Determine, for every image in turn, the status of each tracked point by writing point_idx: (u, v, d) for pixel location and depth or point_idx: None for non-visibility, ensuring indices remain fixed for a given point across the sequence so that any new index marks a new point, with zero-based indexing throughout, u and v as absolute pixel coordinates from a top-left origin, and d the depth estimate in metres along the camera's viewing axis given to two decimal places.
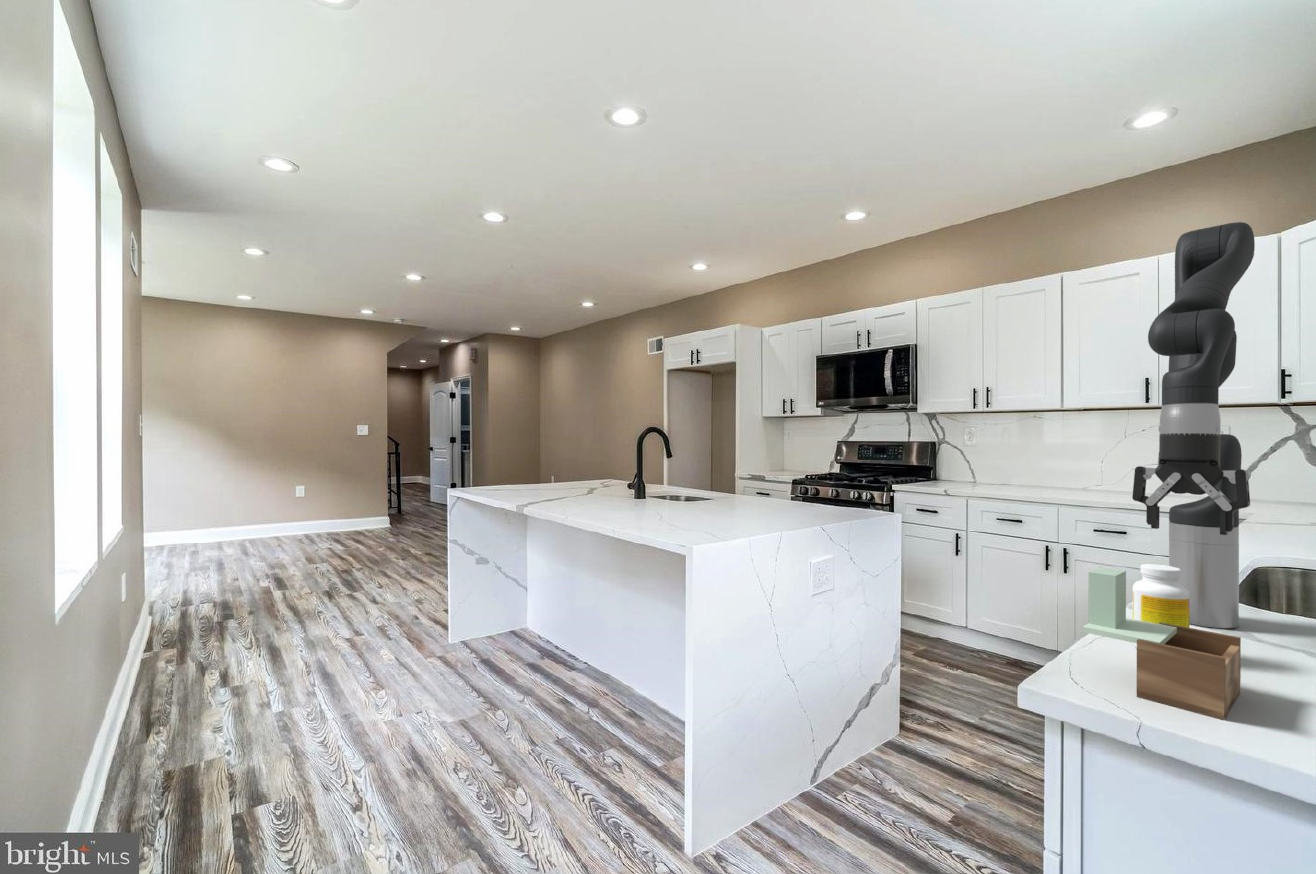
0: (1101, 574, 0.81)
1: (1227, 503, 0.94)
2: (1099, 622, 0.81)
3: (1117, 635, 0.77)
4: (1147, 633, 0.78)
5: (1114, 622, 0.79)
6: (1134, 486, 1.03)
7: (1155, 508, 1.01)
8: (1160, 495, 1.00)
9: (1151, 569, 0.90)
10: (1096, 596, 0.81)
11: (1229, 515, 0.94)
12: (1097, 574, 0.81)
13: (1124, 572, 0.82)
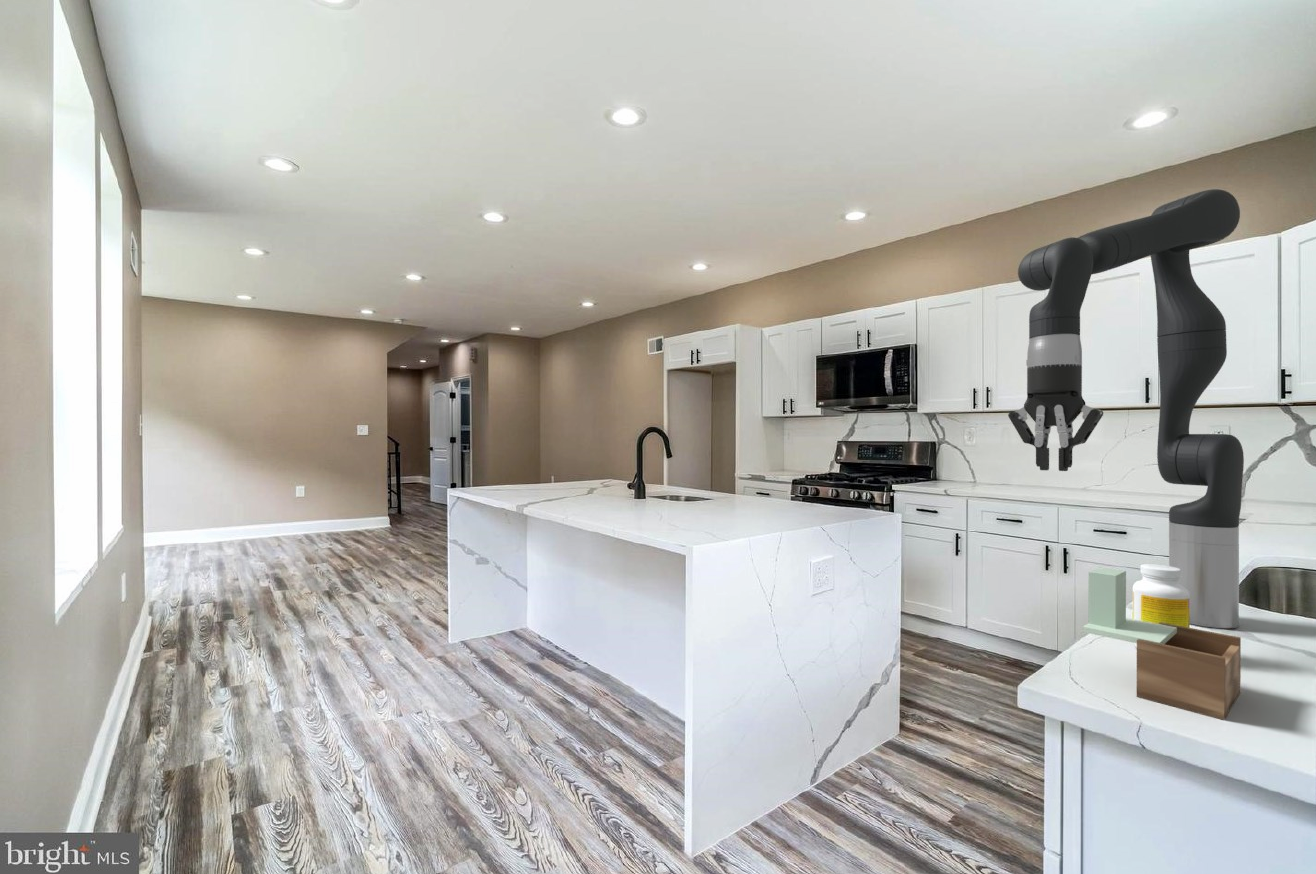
0: (1101, 574, 0.81)
1: (1066, 441, 0.96)
2: (1099, 622, 0.81)
3: (1117, 635, 0.77)
4: (1147, 633, 0.78)
5: (1114, 622, 0.79)
6: (1018, 431, 1.02)
7: (1043, 449, 0.99)
8: (1041, 432, 0.99)
9: (1151, 569, 0.90)
10: (1096, 596, 0.81)
11: (1067, 451, 0.96)
12: (1097, 574, 0.81)
13: (1124, 572, 0.82)
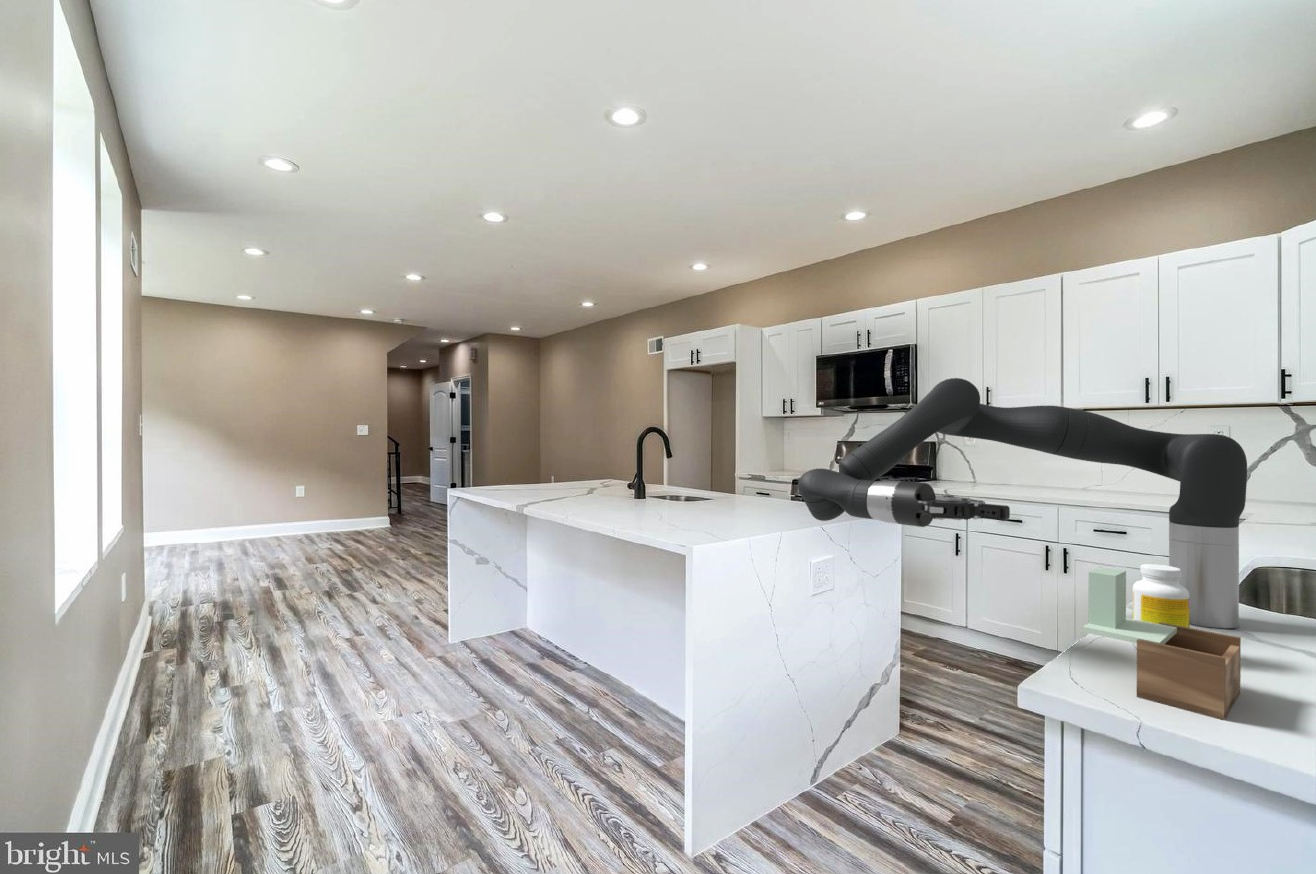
0: (1101, 574, 0.81)
1: (971, 517, 0.95)
2: (1099, 622, 0.81)
3: (1117, 635, 0.77)
4: (1147, 633, 0.78)
5: (1114, 622, 0.79)
6: None
7: None
8: None
9: (1151, 569, 0.90)
10: (1096, 596, 0.81)
11: None
12: (1097, 574, 0.81)
13: (1124, 572, 0.82)
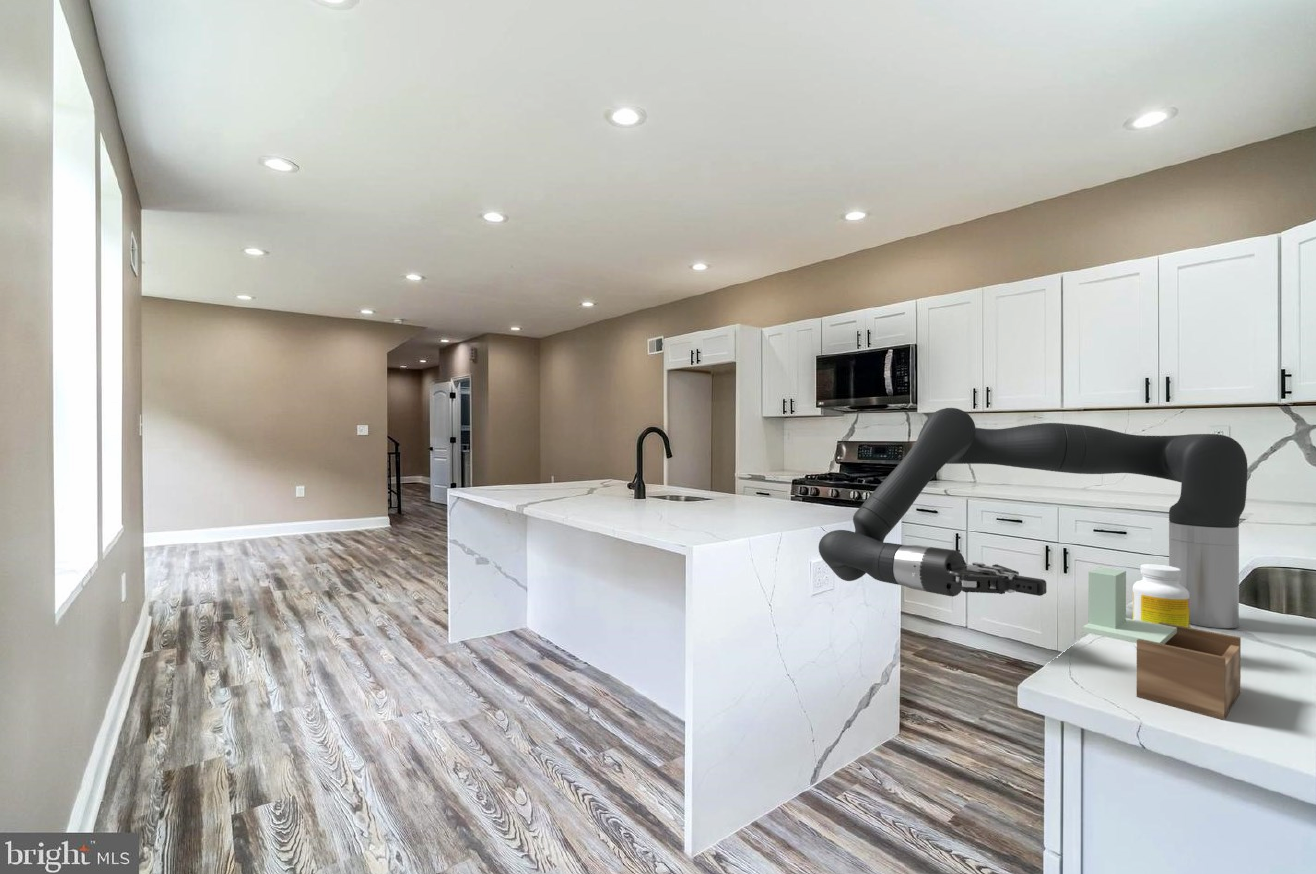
0: (1101, 574, 0.81)
1: (1005, 591, 0.91)
2: (1099, 622, 0.81)
3: (1117, 635, 0.77)
4: (1147, 633, 0.78)
5: (1114, 622, 0.79)
6: None
7: None
8: None
9: (1151, 569, 0.90)
10: (1096, 596, 0.81)
11: None
12: (1097, 574, 0.81)
13: (1124, 572, 0.82)
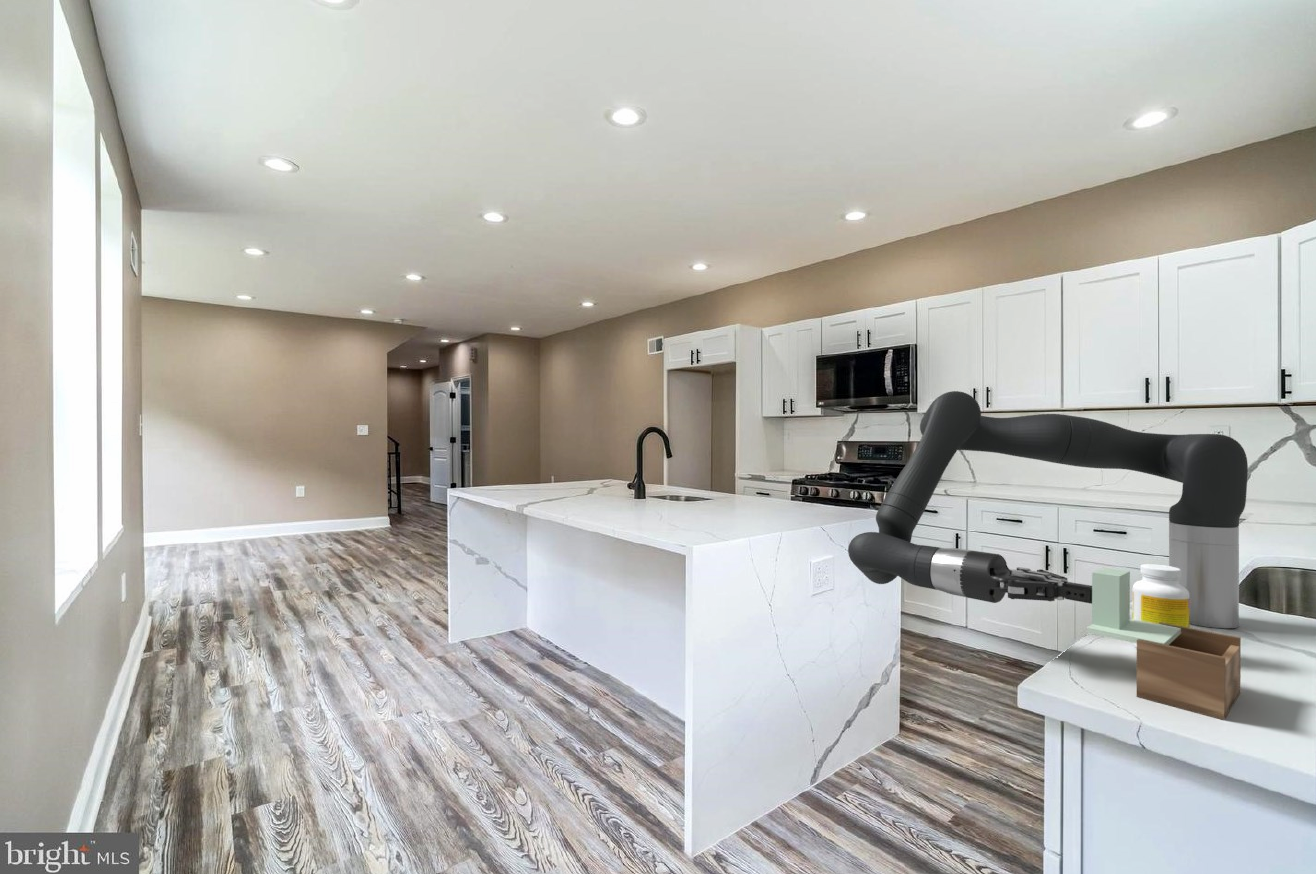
0: (1105, 575, 0.80)
1: (1055, 598, 0.86)
2: (1103, 623, 0.80)
3: (1121, 636, 0.77)
4: (1151, 634, 0.77)
5: (1118, 623, 0.79)
6: None
7: None
8: None
9: (1151, 569, 0.90)
10: (1100, 597, 0.81)
11: None
12: (1101, 575, 0.81)
13: (1128, 573, 0.82)
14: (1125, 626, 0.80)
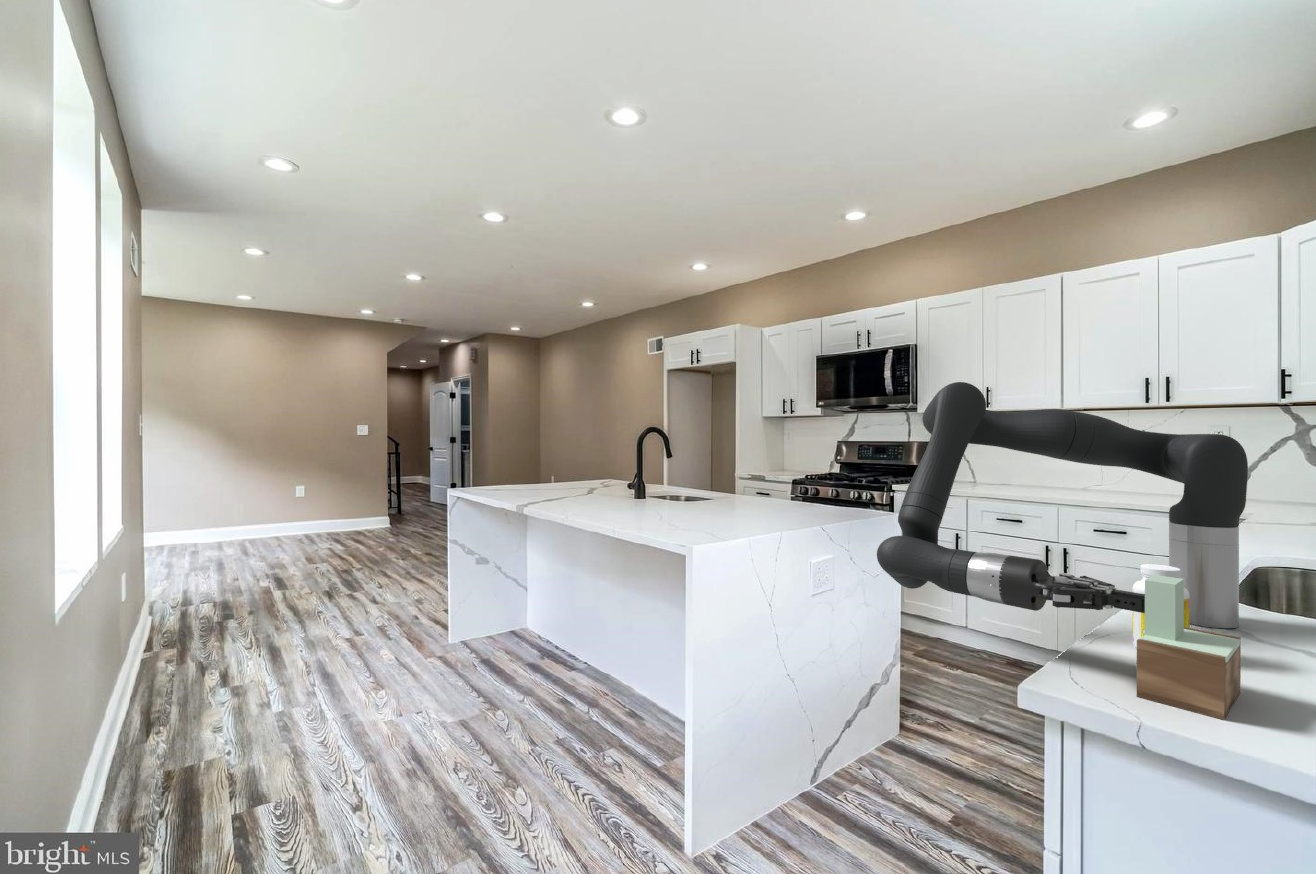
0: (1159, 583, 0.76)
1: (1102, 606, 0.81)
2: (1157, 633, 0.76)
3: None
4: (1210, 646, 0.73)
5: (1174, 634, 0.75)
6: None
7: None
8: None
9: (1151, 569, 0.90)
10: (1153, 606, 0.76)
11: None
12: (1154, 583, 0.76)
13: (1182, 580, 0.77)
14: (1180, 637, 0.76)
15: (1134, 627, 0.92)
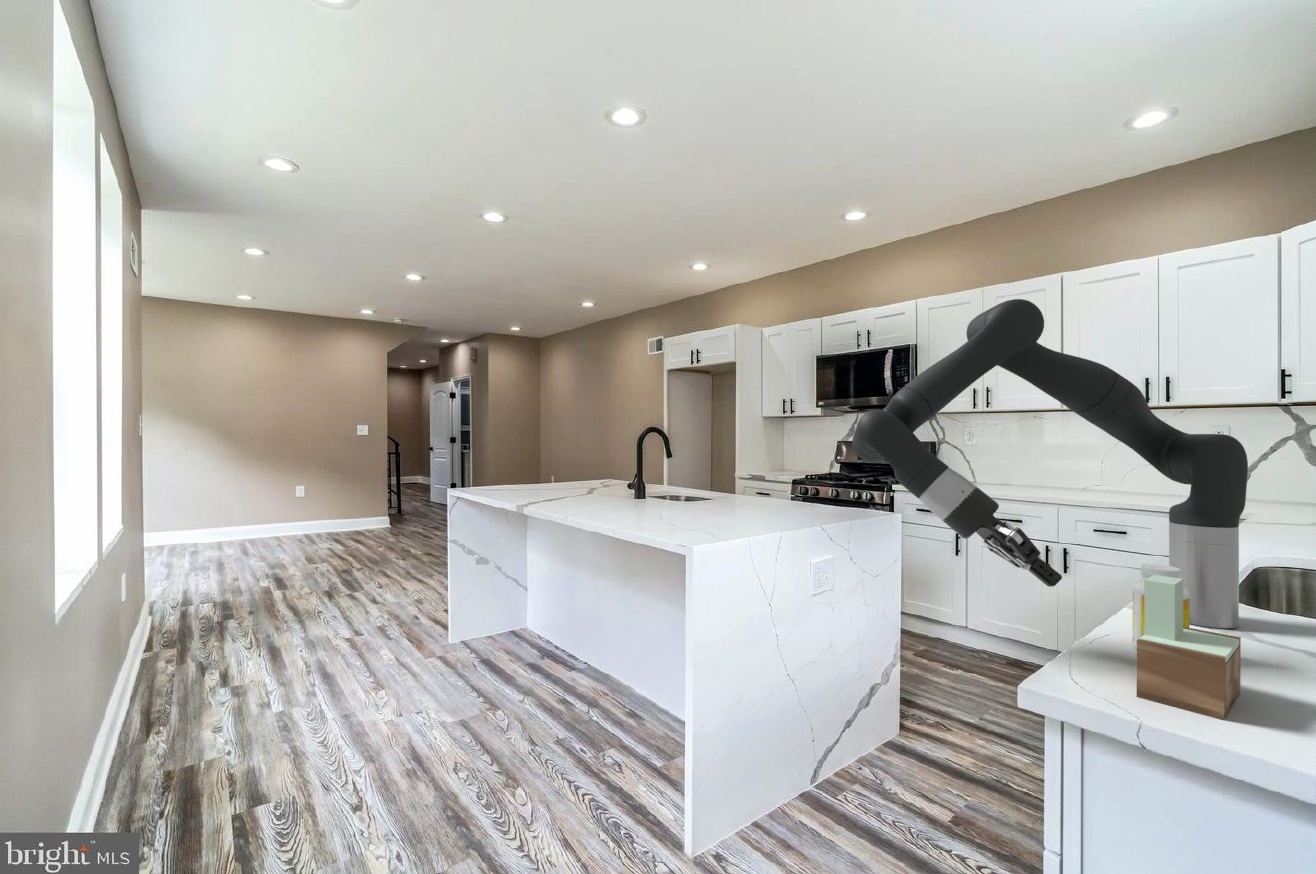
0: (1158, 582, 0.76)
1: (1024, 563, 0.90)
2: (1156, 633, 0.76)
3: None
4: (1210, 646, 0.73)
5: (1173, 634, 0.75)
6: None
7: (1030, 571, 0.91)
8: (1011, 559, 0.92)
9: (1151, 569, 0.90)
10: (1153, 606, 0.76)
11: (1036, 570, 0.90)
12: (1154, 582, 0.76)
13: (1182, 580, 0.77)
14: (1180, 637, 0.76)
15: (1134, 627, 0.92)
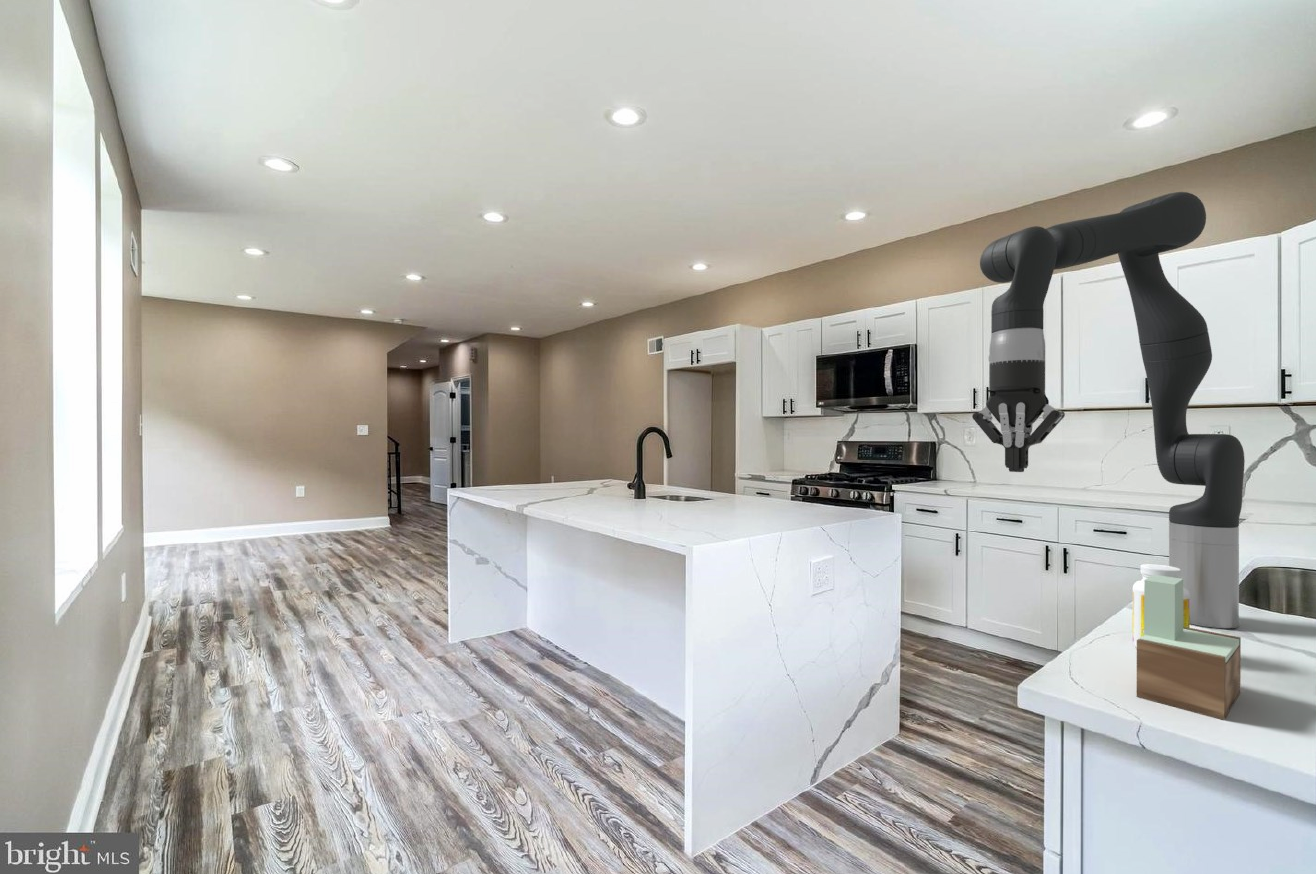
0: (1158, 582, 0.76)
1: (1022, 441, 0.92)
2: (1156, 633, 0.76)
3: None
4: (1210, 646, 0.73)
5: (1173, 634, 0.75)
6: (985, 432, 0.96)
7: (1012, 449, 0.93)
8: (1008, 431, 0.93)
9: (1151, 569, 0.90)
10: (1153, 606, 0.76)
11: (1022, 452, 0.92)
12: (1154, 582, 0.76)
13: (1182, 580, 0.77)
14: (1180, 637, 0.76)
15: (1134, 627, 0.92)
